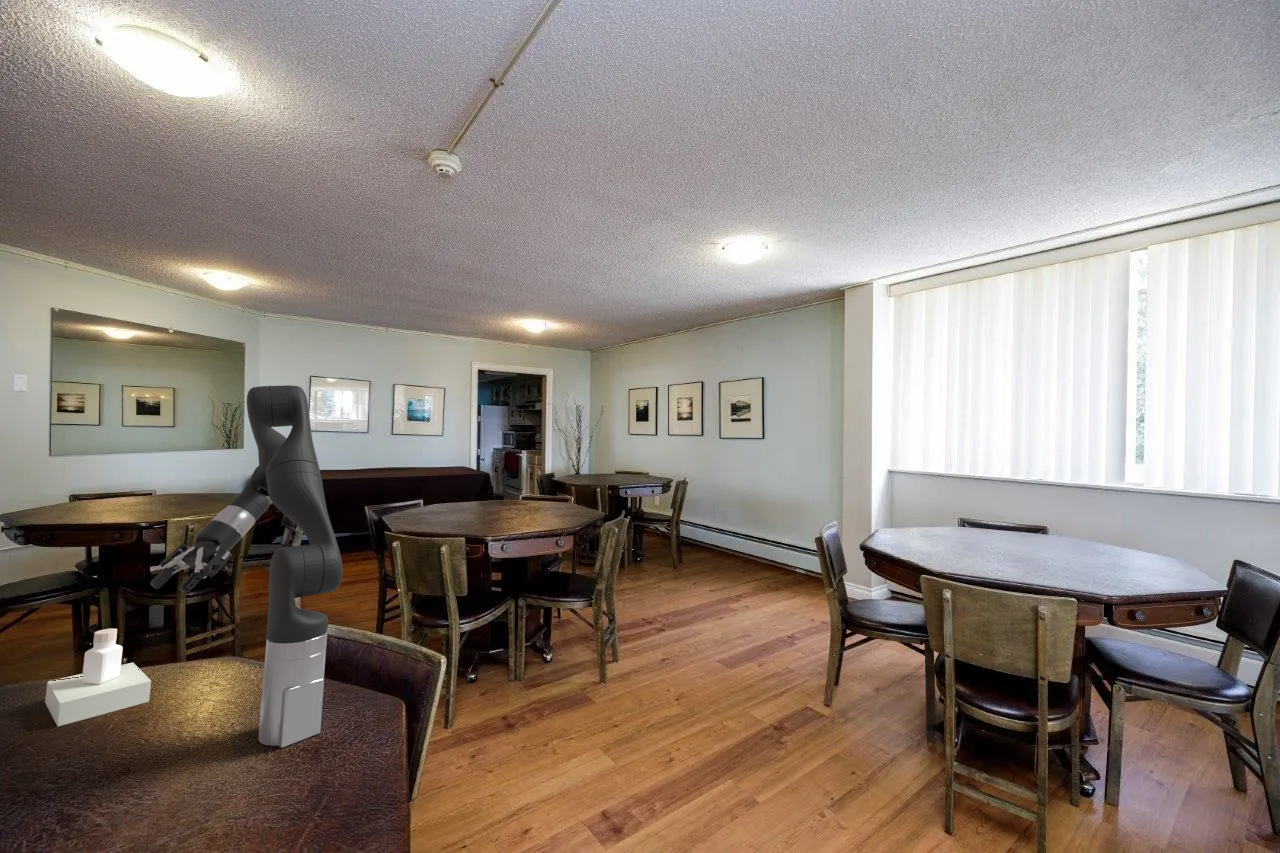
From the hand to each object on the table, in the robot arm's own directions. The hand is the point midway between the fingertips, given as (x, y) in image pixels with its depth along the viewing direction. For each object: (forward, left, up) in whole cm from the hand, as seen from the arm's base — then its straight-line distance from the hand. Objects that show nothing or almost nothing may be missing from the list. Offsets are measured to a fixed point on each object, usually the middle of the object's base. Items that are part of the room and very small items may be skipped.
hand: (168, 588), depth 111 cm
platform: (-4, +10, -19) cm, 22 cm away
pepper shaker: (-4, +10, -16) cm, 19 cm away
